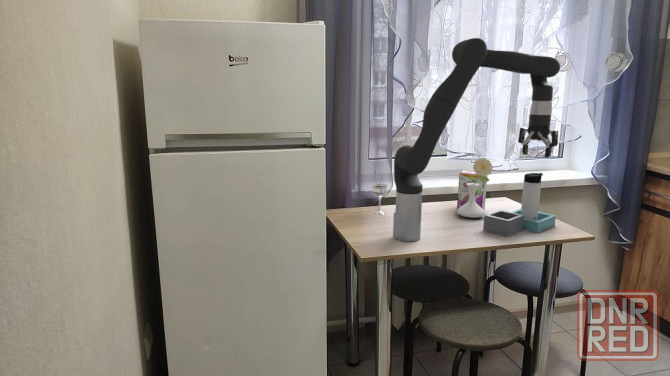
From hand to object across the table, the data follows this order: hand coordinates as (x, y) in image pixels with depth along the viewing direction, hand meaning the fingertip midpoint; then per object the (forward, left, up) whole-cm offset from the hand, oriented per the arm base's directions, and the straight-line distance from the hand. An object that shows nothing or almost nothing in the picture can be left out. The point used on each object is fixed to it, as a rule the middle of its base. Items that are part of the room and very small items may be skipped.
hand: (536, 156), depth 178 cm
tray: (0, 0, -28) cm, 28 cm away
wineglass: (-33, +50, -28) cm, 66 cm away
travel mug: (0, 0, -27) cm, 27 cm away
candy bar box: (+2, +28, -28) cm, 39 cm away
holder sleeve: (-14, +3, -28) cm, 31 cm away
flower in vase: (-7, +21, -28) cm, 35 cm away
